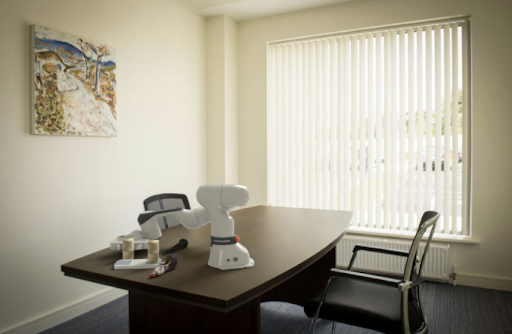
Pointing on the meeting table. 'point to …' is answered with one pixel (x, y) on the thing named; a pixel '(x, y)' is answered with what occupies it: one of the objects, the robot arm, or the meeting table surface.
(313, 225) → the meeting table surface
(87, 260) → the meeting table surface
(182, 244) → the microphone
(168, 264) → the figurine
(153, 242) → the standing pillar
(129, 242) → the loose pillar
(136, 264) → the white base board
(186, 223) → the robot arm
